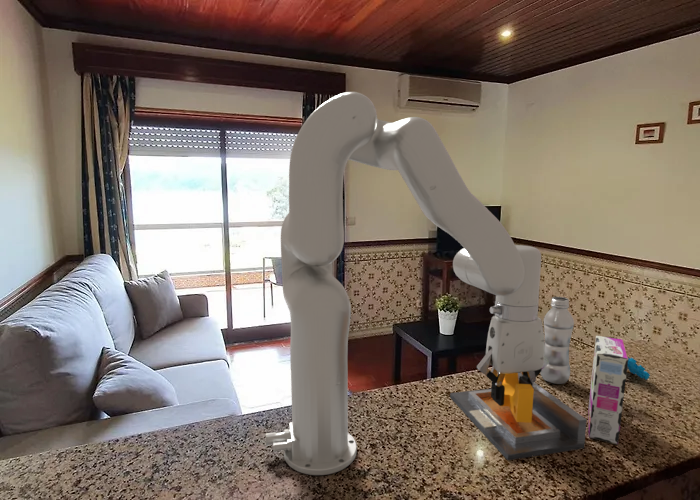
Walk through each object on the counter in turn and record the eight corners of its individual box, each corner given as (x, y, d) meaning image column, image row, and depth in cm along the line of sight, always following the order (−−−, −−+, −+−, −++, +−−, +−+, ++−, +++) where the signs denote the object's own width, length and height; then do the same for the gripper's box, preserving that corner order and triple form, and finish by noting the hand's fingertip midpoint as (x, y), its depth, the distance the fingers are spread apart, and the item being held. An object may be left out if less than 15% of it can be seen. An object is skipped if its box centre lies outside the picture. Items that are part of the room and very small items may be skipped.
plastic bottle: (536, 382, 100) (542, 299, 97) (542, 372, 106) (547, 293, 102) (566, 390, 96) (573, 304, 93) (571, 379, 102) (578, 297, 99)
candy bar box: (620, 446, 76) (629, 358, 73) (588, 438, 78) (595, 353, 76) (616, 416, 85) (624, 338, 83) (587, 410, 88) (594, 334, 85)
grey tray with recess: (507, 460, 72) (509, 430, 71) (450, 397, 93) (450, 373, 92) (584, 448, 75) (586, 419, 74) (511, 390, 96) (513, 367, 96)
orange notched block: (492, 390, 89) (493, 360, 88) (513, 391, 89) (515, 361, 88) (506, 421, 78) (508, 387, 77) (531, 422, 77) (533, 389, 76)
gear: (661, 381, 97) (630, 350, 97) (643, 399, 97) (612, 369, 97) (628, 367, 108) (601, 339, 108) (612, 383, 108) (584, 356, 108)
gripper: (485, 320, 75) (481, 415, 78) (569, 313, 79) (562, 405, 82) (465, 308, 83) (462, 396, 85) (543, 302, 86) (537, 387, 89)
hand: (511, 399), depth 84 cm, fingers closed on orange notched block, 5 cm apart
